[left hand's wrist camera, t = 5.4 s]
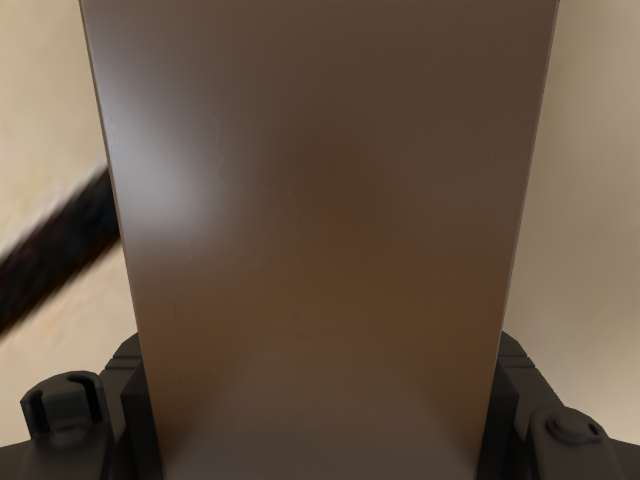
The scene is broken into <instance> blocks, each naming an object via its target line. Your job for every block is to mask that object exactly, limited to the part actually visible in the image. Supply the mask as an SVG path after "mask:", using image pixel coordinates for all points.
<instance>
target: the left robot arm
mask: <svg viewBox="0 0 640 480" xmlns="http://www.w3.org/2000/svg"><path fill="white" fill-rule="evenodd" d="M20 404H21V407H22V410H23V413H24V417H25V420H26V423H27V427H28V430H29V433H30V436H31V439H30V440H28V441H25V442H21V443H17V444H13V445H9V446H4V447H0V480H164V475H163V469H162V464H161V458H160V453H159V447H158V441H157V436H156V430H155V425H154V419H153V413H152V408H151V402H150V397H149V391H148V385H147V380H146V374H145V369H144V363H143V357H142V352H141V346H140V341H139V335H138V332H137V333H136V334H134V335H133V336H131V337H130V338H128V339H127V340H126V341H124V342H123V343H122V344H121V345H120V347H119V348H118V350H117V351H116V352H115V354H114V355H113V359H110V361H109V362H108V363H107V365H106V366H105V370H102V372H101V373H100V374H99V376H98V375H97V374H96V373H93V372H89V371H70V372H66V373H62V374H58V375H55V376H53V377H50V378H48V379H46V380H44V381H42V382H40V383H38V384H37V385H36V386H34V387H33V388H32V389H30V390H29V391H28V392H27V393H26V394H25V395H24V397H23V398H22V399H21V401H20ZM476 480H640V446H639V445H635V444H631V443H626V442H622V441H618V440H615V439H612V438H609V437H608V435H607V434H606V432H605V431H604V429H603V428H602V426H600V425H599V424H598V423H597V422H596V421H594V420H593V419H592V418H591V417H589V416H587V415H585V414H583V413H582V412H580V411H578V410H576V409H572V408H569V407H566V406H564V405H563V403H562V402H561V400H560V399H559V398H558V396H557V395H556V394H555V392H554V391H553V389H552V388H551V387H550V385H549V384H548V383H547V381H546V380H545V378H544V377H543V376H542V374H541V373H540V372H539V370H538V369H537V368H535V365H534V363H533V362H532V361H531V359H530V358H529V357H527V354H526V352H525V351H524V350H523V348H522V347H521V346H520V344H519V343H518V341H516V340H515V339H513V338H512V337H511V336H509V335H508V334H506V333H505V332H503V331H502V332H501V337H500V343H499V349H498V354H497V360H496V366H495V372H494V377H493V383H492V389H491V394H490V400H489V406H488V412H487V417H486V423H485V429H484V434H483V440H482V446H481V451H480V457H479V463H478V469H477V474H476Z"/></svg>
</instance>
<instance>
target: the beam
mask: <svg viewBox="0 0 640 480" xmlns="http://www.w3.org/2000/svg"><path fill="white" fill-rule="evenodd" d="M559 1H560V0H79V5H80V11H81V16H82V22H83V27H84V33H85V38H86V44H87V50H88V55H89V61H90V66H91V72H92V78H93V83H94V89H95V94H96V100H97V106H98V111H99V117H100V122H101V128H102V134H103V139H104V145H105V150H106V156H107V162H108V167H109V173H110V178H111V184H112V190H113V195H114V201H115V206H116V212H117V218H118V223H119V229H120V234H121V240H122V246H123V251H124V257H125V262H126V268H127V273H128V279H129V285H130V290H131V296H132V301H133V307H134V313H135V318H136V324H137V329H138V335H139V341H140V346H141V352H142V357H143V363H144V369H145V374H146V380H147V385H148V391H149V397H150V402H151V408H152V413H153V419H154V425H155V430H156V436H157V441H158V447H159V453H160V458H161V464H162V469H163V475H164V480H476V474H477V469H478V463H479V457H480V451H481V446H482V440H483V434H484V429H485V423H486V417H487V412H488V406H489V400H490V394H491V389H492V383H493V377H494V372H495V366H496V360H497V354H498V349H499V343H500V337H501V332H502V326H503V320H504V315H505V309H506V303H507V297H508V292H509V286H510V280H511V275H512V269H513V263H514V258H515V252H516V246H517V240H518V235H519V229H520V223H521V218H522V212H523V206H524V201H525V195H526V189H527V183H528V178H529V172H530V166H531V161H532V155H533V149H534V144H535V138H536V132H537V126H538V121H539V115H540V109H541V104H542V98H543V92H544V87H545V81H546V75H547V69H548V64H549V58H550V52H551V47H552V41H553V35H554V29H555V24H556V18H557V12H558V7H559Z"/></svg>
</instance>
